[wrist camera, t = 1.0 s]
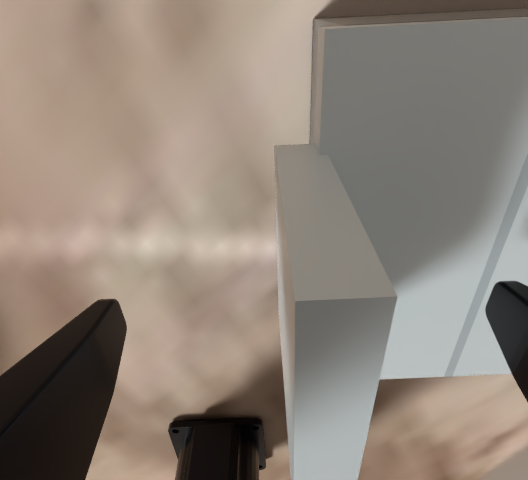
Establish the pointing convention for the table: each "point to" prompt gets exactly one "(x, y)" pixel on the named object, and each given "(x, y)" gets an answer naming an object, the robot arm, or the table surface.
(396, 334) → the lid
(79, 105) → the table surface
